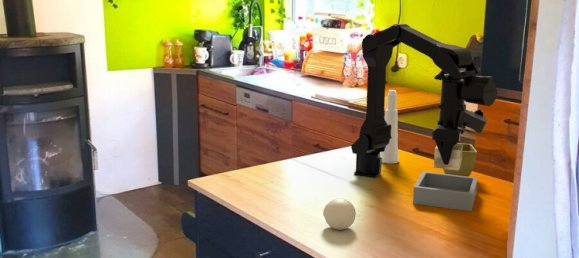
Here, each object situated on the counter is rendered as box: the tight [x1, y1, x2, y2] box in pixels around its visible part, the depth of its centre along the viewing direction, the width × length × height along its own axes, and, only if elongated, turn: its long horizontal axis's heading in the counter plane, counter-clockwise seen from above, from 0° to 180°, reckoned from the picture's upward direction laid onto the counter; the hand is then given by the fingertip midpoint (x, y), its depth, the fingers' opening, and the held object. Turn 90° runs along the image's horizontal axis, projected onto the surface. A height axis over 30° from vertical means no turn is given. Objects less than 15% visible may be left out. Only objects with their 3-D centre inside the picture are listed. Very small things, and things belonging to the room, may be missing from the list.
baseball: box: [322, 198, 357, 230], centre depth 134 cm, size 7×7×7 cm
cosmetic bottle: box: [380, 89, 400, 165], centre depth 184 cm, size 6×6×22 cm
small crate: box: [433, 144, 463, 171], centre depth 151 cm, size 6×6×5 cm
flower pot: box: [442, 142, 478, 177], centre depth 170 cm, size 9×9×9 cm
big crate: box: [412, 170, 478, 212], centre depth 153 cm, size 14×14×4 cm
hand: (447, 161), depth 152 cm, fingers closed on small crate, 6 cm apart
